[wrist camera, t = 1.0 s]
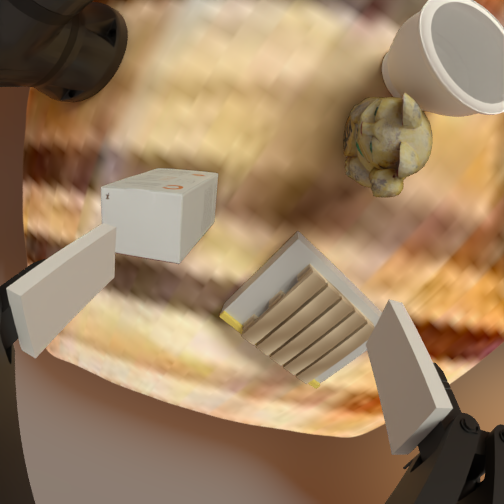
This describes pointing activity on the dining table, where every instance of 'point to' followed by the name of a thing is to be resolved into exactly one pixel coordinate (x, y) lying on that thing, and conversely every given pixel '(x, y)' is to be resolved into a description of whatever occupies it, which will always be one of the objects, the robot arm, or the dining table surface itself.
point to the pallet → (308, 327)
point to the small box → (160, 212)
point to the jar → (449, 59)
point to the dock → (284, 278)
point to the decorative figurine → (386, 143)
